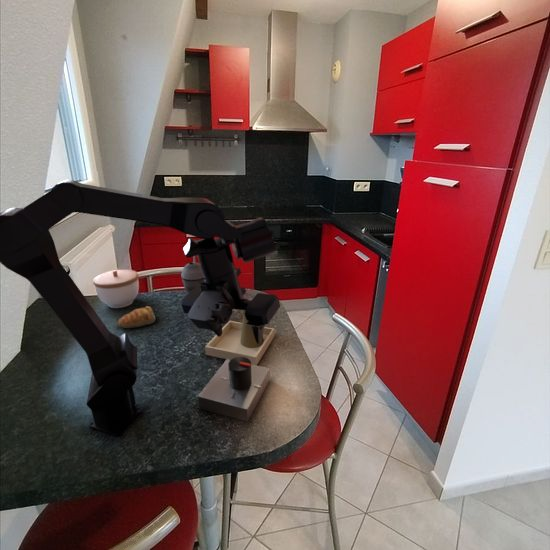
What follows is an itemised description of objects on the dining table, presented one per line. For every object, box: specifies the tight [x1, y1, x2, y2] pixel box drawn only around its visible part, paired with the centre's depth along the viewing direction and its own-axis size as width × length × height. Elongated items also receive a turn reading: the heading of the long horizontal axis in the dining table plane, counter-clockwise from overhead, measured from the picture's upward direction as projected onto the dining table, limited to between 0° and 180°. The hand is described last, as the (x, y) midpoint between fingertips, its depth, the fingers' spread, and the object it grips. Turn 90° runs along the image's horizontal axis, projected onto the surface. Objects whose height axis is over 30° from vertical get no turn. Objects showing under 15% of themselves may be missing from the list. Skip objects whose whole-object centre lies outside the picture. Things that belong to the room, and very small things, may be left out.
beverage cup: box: [180, 256, 204, 296], centre depth 93 cm, size 7×7×20 cm
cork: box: [240, 310, 264, 348], centre depth 80 cm, size 6×6×11 cm
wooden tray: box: [204, 320, 276, 366], centre depth 80 cm, size 13×13×2 cm
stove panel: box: [197, 359, 271, 422], centre depth 64 cm, size 12×10×3 cm
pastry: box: [117, 305, 156, 329], centre depth 90 cm, size 9×7×4 cm
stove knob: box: [228, 357, 252, 390], centre depth 62 cm, size 4×4×5 cm
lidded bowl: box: [92, 269, 140, 309], centre depth 100 cm, size 13×13×11 cm
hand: (239, 338), depth 64 cm, fingers open, 9 cm apart
